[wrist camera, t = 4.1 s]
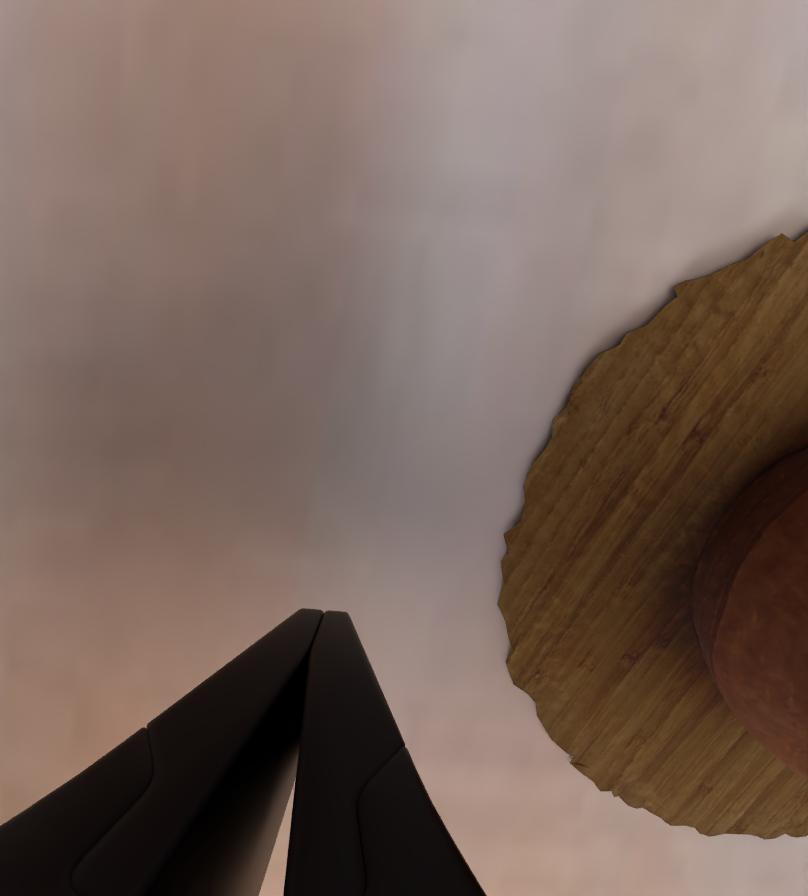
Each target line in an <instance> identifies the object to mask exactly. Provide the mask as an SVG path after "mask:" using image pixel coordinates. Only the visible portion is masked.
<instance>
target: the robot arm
mask: <svg viewBox="0 0 808 896" xmlns="http://www.w3.org/2000/svg"><path fill="white" fill-rule="evenodd" d="M295 778H296V782H295V791H294V801H293V810H292V820H291V829H290V838H289V848H288V857H287V867H286V876H285V886H284V895H283V896H486V894H485V893H484V891H483V889H482V888H481V886H480V884H479V883H478V881H477V879H476V878H475V876H474V874H473V873H472V871H471V869H470V868H469V866H468V864H467V863H466V861H465V859H464V858H463V856H462V854H461V853H460V851H459V849H458V848H457V846H456V844H455V843H454V841H453V839H452V837H451V835H450V834H449V832H448V830H447V828H446V827H445V825H444V823H443V821H442V819H441V818H440V816H439V814H438V812H437V811H436V809H435V807H434V805H433V803H432V801H431V799H430V797H429V795H428V793H427V791H426V789H425V787H424V785H423V783H422V780H421V778H420V776H419V774H418V772H417V770H416V768H415V765H414V763H413V761H412V758H411V756H410V754H409V751H408V749H407V748H406V747H405V743H404V741H403V738H402V736H401V734H400V731H399V729H398V727H397V724H396V722H395V720H394V718H393V715H392V713H391V711H390V708H389V706H388V704H387V701H386V699H385V697H384V694H383V692H382V690H381V688H380V685H379V683H378V681H377V678H376V676H375V674H374V671H373V669H372V667H371V664H370V662H369V660H368V657H367V655H366V653H365V651H364V648H363V646H362V644H361V641H360V639H359V637H358V634H357V632H356V630H355V627H354V625H353V623H352V621H351V618H350V616H349V614H348V613H347V612H341V611H326V612H325V613H323V611H322V610H316V609H304V608H302V609H300V610H298V611H297V612H295V613H294V614H293V615H291V616H290V617H289V618H287V619H286V620H285V621H283V622H282V623H281V624H279V625H278V626H277V627H275V628H274V629H273V630H271V631H270V632H269V633H267V634H266V635H265V636H263V637H262V638H261V639H259V640H258V641H257V642H255V643H254V644H253V645H252V646H250V647H249V648H248V649H246V650H245V651H244V652H242V653H241V654H240V655H238V656H237V657H236V658H234V659H233V660H232V661H230V662H229V663H228V664H226V665H225V666H224V667H222V668H221V669H220V670H218V671H217V672H216V673H214V674H213V675H212V676H210V677H209V678H208V679H206V680H205V681H204V682H202V683H201V684H200V685H198V686H197V687H196V688H194V689H193V690H192V691H190V692H189V693H188V694H186V695H185V696H184V697H182V698H181V699H180V700H178V701H177V702H176V703H175V704H173V705H172V706H171V707H169V708H168V709H167V710H165V711H164V712H163V713H161V714H160V715H159V716H157V717H156V718H155V719H153V720H152V721H151V722H149V723H148V724H147V729H146V728H145V727H143V728H141V729H140V730H138V731H137V732H136V733H134V734H133V735H132V736H130V737H129V738H128V739H126V740H125V741H124V742H122V743H121V744H120V745H118V746H117V747H116V748H114V749H113V750H111V751H110V752H109V753H107V754H106V755H105V756H103V757H102V758H100V759H99V760H98V761H96V762H95V763H93V764H92V765H91V766H89V767H88V768H86V769H85V770H84V771H82V772H81V773H80V774H78V775H77V776H75V777H74V778H72V779H71V780H69V781H68V782H66V783H65V784H63V785H62V786H60V787H59V788H57V789H56V790H54V791H53V792H51V793H50V794H48V795H47V796H45V797H44V798H42V799H41V800H39V801H38V802H36V803H35V804H33V805H32V806H30V807H29V808H27V809H26V810H24V811H23V812H21V813H20V814H18V815H17V816H15V817H13V818H12V819H10V820H9V821H7V822H6V823H4V824H3V825H1V826H0V896H259V892H260V889H261V886H262V883H263V880H264V877H265V873H266V870H267V867H268V864H269V861H270V857H271V854H272V851H273V848H274V845H275V841H276V838H277V835H278V832H279V829H280V826H281V822H282V819H283V816H284V813H285V810H286V806H287V803H288V800H289V797H290V794H291V790H292V787H293V784H294V781H295Z"/></svg>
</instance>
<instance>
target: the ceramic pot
mask: <svg viewBox="0 0 808 896" xmlns="http://www.w3.org/2000/svg"><path fill="white" fill-rule="evenodd" d="M674 289H675V292H676V294H677V297H676V298H675V299H673V300H672V301H671V302H670V303H668V304H667V305H666V306H665V307H664V308H663V309H662V310H661V311H660V312H659V313H658V314H657V315H656V316H655V317H654V318H653V320H652V321H651V322H650V323H649V324H648V325H647V326H644V327H642V328H639V329H636V330H634V331H631V332H628V333H627V334H626V336H625V337H624V339H623V340H622V342H621V343H620V345H619V346H617V347H615V348H612V349H610V350H608V351H605V352H603V353H601V354H599V355H598V356H597V358H596V359H595V360H594V361H593V362H592V363H591V365H590V366H589V367H588V368H587V369H586V370H585V372H584V373H583V375H582V377H581V378H580V380H579V381H578V383H577V384H576V385H575V386H574V387H573V388H572V390H571V394H570V398H569V401H568V404H567V407H566V408H565V409H564V410H563V411H562V412H561V413H560V414H559V415H558V416H556V417H555V418H554V419H553V431H552V438H551V440H550V442H549V443H548V445H547V447H546V448H545V450H544V452H543V453H542V454H541V455H540V456H539V457H538V459H537V460H536V461H535V462H534V463H533V465H532V467H531V468H530V470H529V472H528V474H527V477H526V480H525V483H524V497H525V502H524V507H523V512H522V516H521V521H520V522H519V523H518V524H517V525H516V526H514V527H513V528H512V529H511V530H509V531H508V532H506V533H505V534H504V538H505V541H506V544H507V548H508V551H509V552H508V554H507V555H506V556H505V557H504V558H503V559H502V560H501V566H502V574H503V582H504V583H503V586H502V590H501V593H500V597H499V600H498V606H499V608H500V610H501V612H502V615H503V617H504V619H505V621H506V627H507V632H508V637H509V640H510V644H511V650H510V652H509V655H508V657H507V659H506V664H507V667H508V670H509V673H510V676H511V679H512V681H513V684H514V685H515V686H517V687H518V688H520V689H521V690H523V691H524V692H526V693H527V694H528V695H529V696H530V697H531V698H532V699H533V700H534V701H535V703H536V709H537V716H538V718H539V719H540V721H541V723H542V725H543V727H544V728H545V730H546V732H547V733H548V735H549V736H550V738H551V739H552V740H553V741H554V742H555V743H556V744H557V745H558V746H559V747H560V748H561V749H563V750H564V751H565V752H566V753H568V754H570V755H573V756H575V757H574V758H573V759H572V760H571V762H570V764H571V765H573V766H574V767H575V768H576V769H577V770H579V771H580V772H581V773H582V774H584V775H585V776H586V777H588V778H589V779H591V780H592V781H593V782H594V783H595V785H596V786H597V788H598V789H599V790H600V791H612V793H613V796H614V797H617V796H619V797H620V798H621V799H622V800H623V801H624V802H625V803H626V804H627V805H628V806H631V807H634V808H642V807H643V808H644V809H646V810H648V811H649V812H651V813H653V814H655V815H657V816H658V817H660V818H662V819H663V820H664V821H665V822H666V823H668V824H669V825H674V826H689V827H694V828H696V830H697V831H698V832H699V833H700V834H704V835H707V836H715V835H721V834H750V835H754V836H758V837H760V838H763V839H774V838H777V837H779V836H781V835H783V834H787V835H789V836H792V837H804V836H807V835H808V232H807V233H805V234H804V235H803V236H802V237H800V238H799V239H798V240H796V241H795V242H793V241H792V240H790V239H789V238H788V237H786V236H785V235H783V234H780V235H779V236H777V237H776V238H774V239H773V240H771V241H770V242H768V243H767V244H765V245H764V246H763V247H761V248H760V249H759V250H758V251H757V252H755V253H754V254H753V255H752V256H751V257H750V258H749V259H747V260H743V261H740V262H737V263H734V264H732V265H730V266H728V267H726V268H724V269H722V270H720V271H718V272H716V273H714V274H711V275H708V276H705V277H702V278H699V279H696V280H688V281H684V282H683V283H681V284H679V285H678V286H676V287H674Z"/></svg>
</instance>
